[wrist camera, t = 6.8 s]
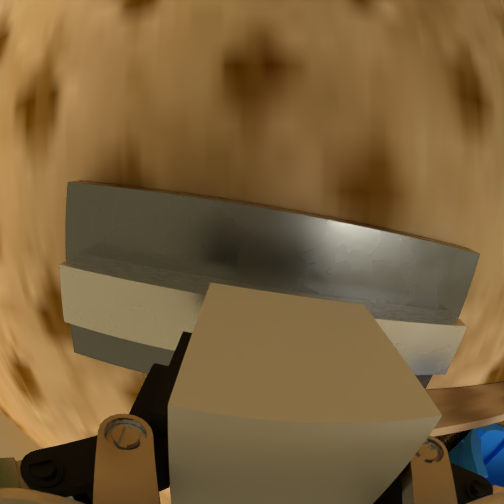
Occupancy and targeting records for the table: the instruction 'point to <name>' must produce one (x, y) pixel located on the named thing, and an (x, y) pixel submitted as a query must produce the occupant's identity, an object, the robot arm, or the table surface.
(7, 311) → the table surface
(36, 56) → the table surface
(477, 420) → the brown wooden tray
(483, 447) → the tube
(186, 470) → the block
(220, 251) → the rail board
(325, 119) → the table surface
